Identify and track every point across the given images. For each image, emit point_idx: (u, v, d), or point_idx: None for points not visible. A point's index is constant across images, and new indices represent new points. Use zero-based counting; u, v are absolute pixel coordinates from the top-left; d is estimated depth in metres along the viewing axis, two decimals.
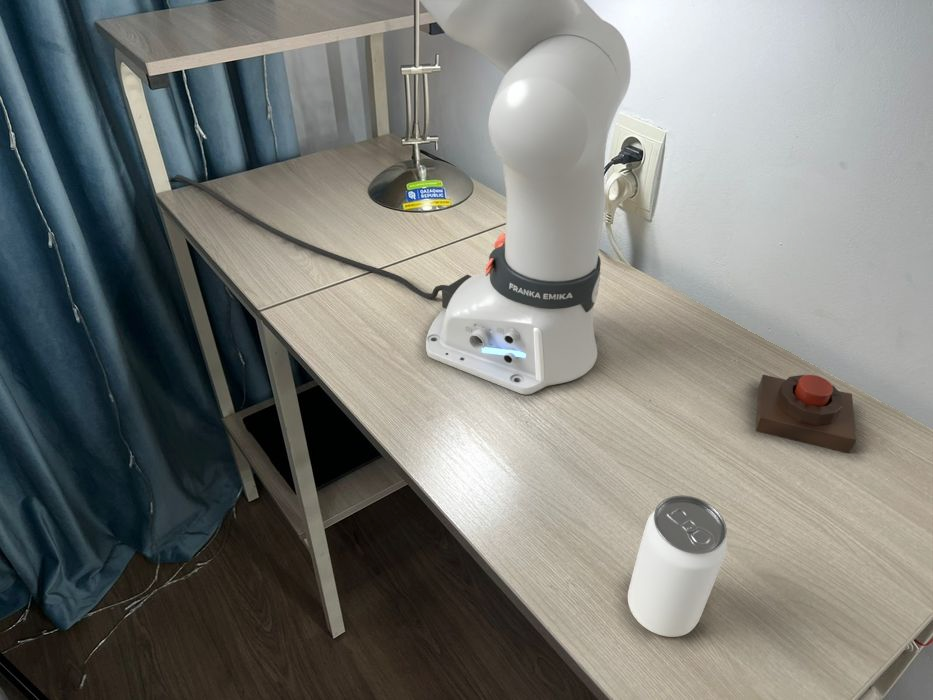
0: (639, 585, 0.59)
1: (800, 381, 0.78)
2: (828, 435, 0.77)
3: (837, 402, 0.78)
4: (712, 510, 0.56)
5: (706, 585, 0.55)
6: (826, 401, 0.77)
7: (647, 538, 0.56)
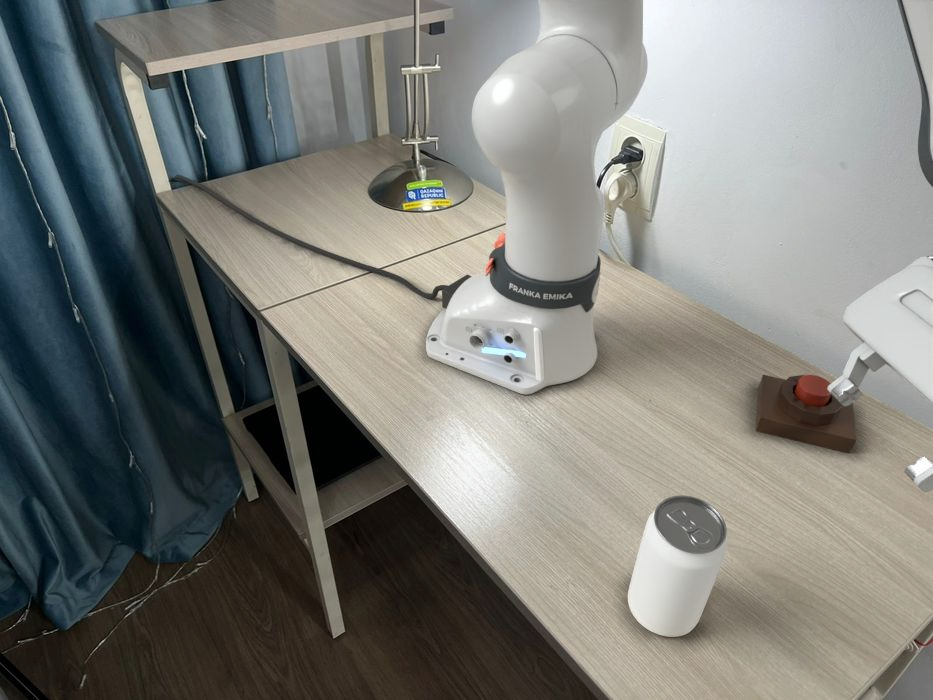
0: (639, 585, 0.59)
1: (800, 381, 0.78)
2: (828, 435, 0.77)
3: (837, 402, 0.78)
4: (712, 510, 0.56)
5: (706, 585, 0.55)
6: (826, 401, 0.77)
7: (647, 538, 0.56)
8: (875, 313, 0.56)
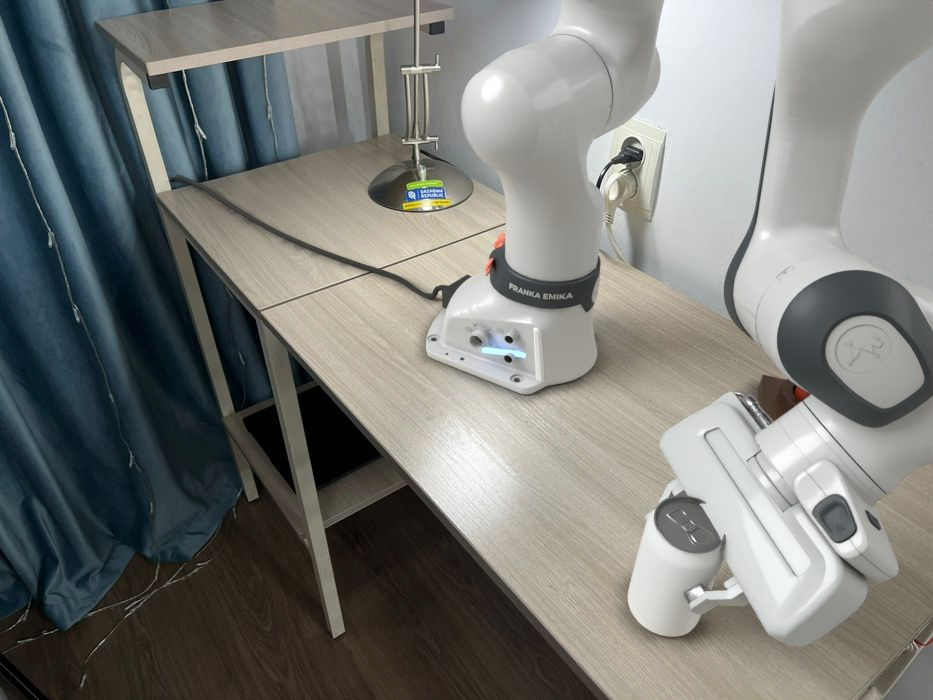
0: (638, 585, 0.59)
1: None
2: None
3: None
4: None
5: (706, 585, 0.55)
6: None
7: (647, 538, 0.56)
8: (683, 445, 0.61)
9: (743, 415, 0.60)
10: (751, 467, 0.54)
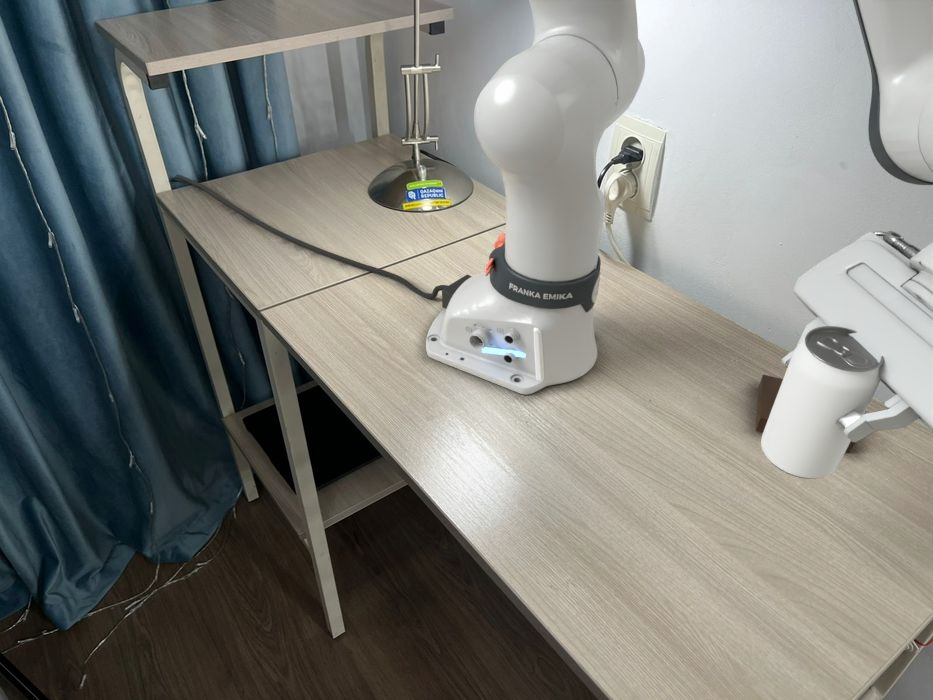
0: (781, 423, 0.57)
1: None
2: None
3: None
4: None
5: (860, 413, 0.54)
6: None
7: (798, 365, 0.54)
8: (823, 284, 0.59)
9: (887, 251, 0.58)
10: (910, 287, 0.53)
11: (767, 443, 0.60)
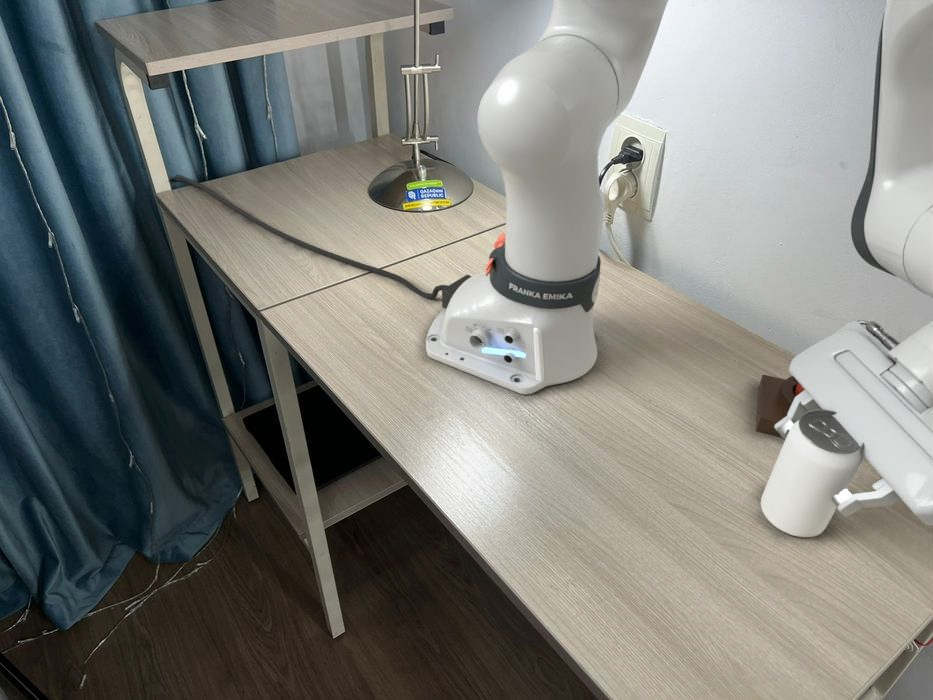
0: (778, 490, 0.67)
1: None
2: None
3: None
4: None
5: (845, 485, 0.63)
6: None
7: (793, 444, 0.64)
8: (814, 367, 0.69)
9: (869, 339, 0.67)
10: (887, 378, 0.62)
11: (766, 505, 0.69)
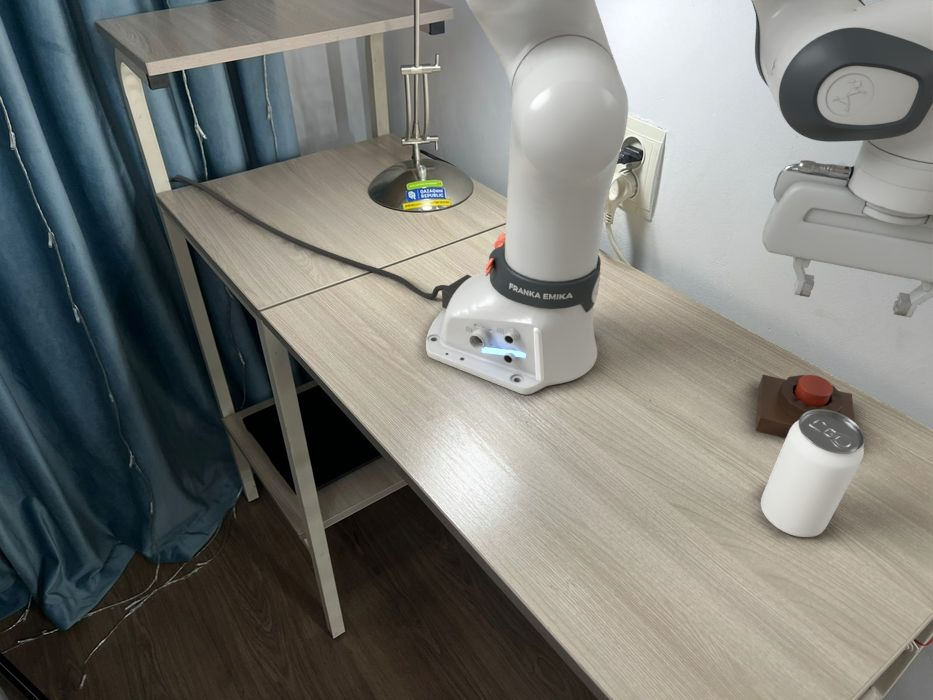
0: (778, 490, 0.67)
1: (800, 381, 0.78)
2: None
3: (837, 402, 0.78)
4: (848, 421, 0.64)
5: (845, 485, 0.63)
6: (826, 401, 0.77)
7: (793, 444, 0.64)
8: (793, 238, 0.67)
9: (814, 180, 0.65)
10: (880, 219, 0.62)
11: (766, 505, 0.69)
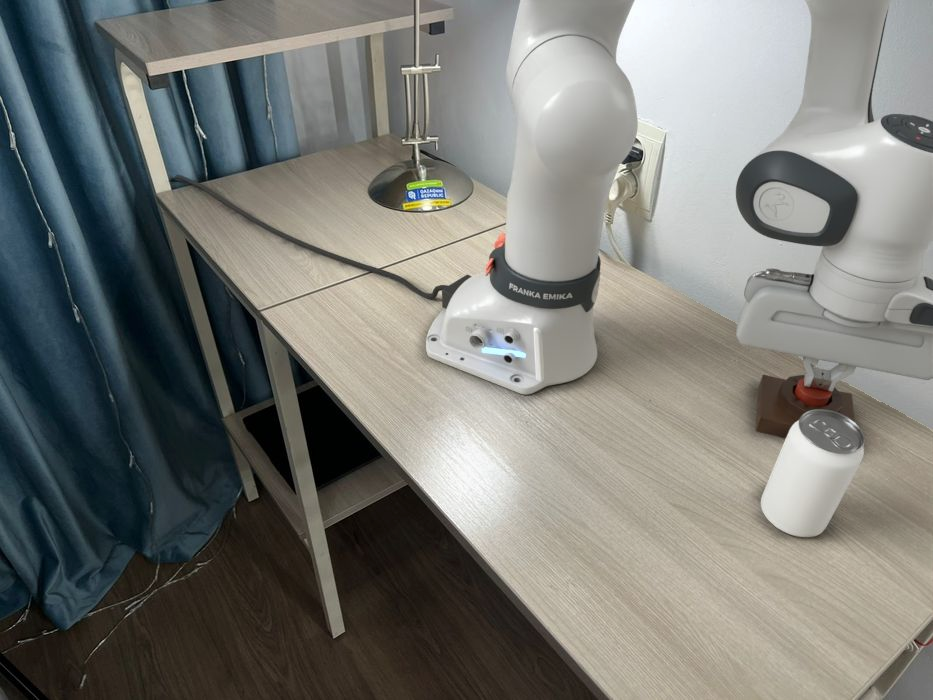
0: (778, 490, 0.67)
1: (799, 384, 0.79)
2: None
3: (837, 402, 0.78)
4: (848, 421, 0.64)
5: (845, 485, 0.63)
6: (825, 404, 0.78)
7: (793, 444, 0.64)
8: (763, 334, 0.75)
9: (779, 286, 0.72)
10: (838, 322, 0.70)
11: (766, 505, 0.69)
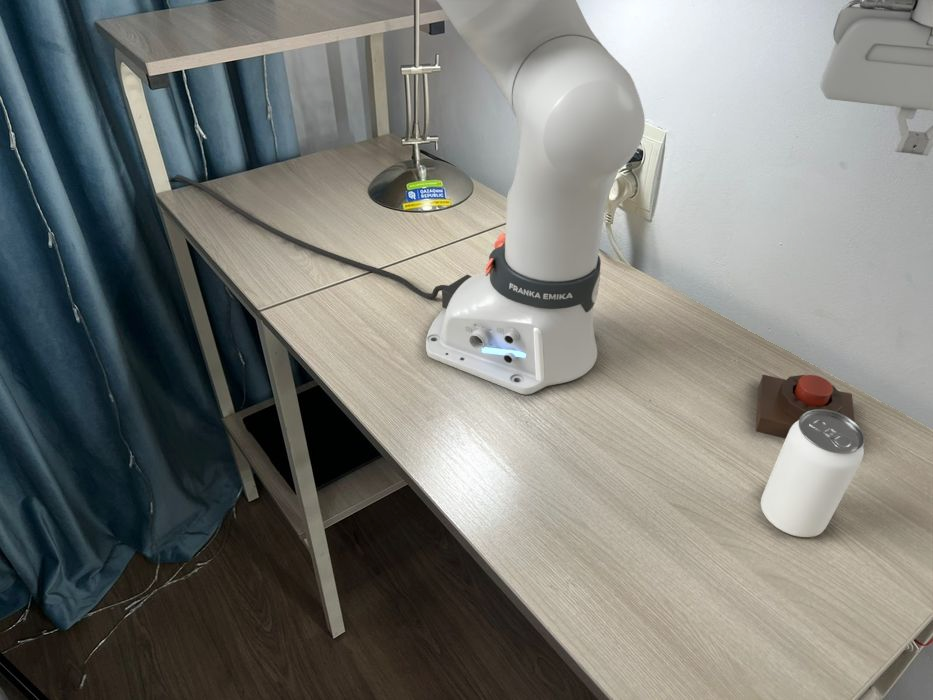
0: (778, 490, 0.67)
1: (800, 381, 0.78)
2: None
3: (837, 402, 0.78)
4: (848, 421, 0.64)
5: (845, 485, 0.63)
6: (826, 401, 0.77)
7: (793, 444, 0.64)
8: (854, 80, 0.66)
9: (876, 15, 0.64)
10: None
11: (766, 505, 0.69)
